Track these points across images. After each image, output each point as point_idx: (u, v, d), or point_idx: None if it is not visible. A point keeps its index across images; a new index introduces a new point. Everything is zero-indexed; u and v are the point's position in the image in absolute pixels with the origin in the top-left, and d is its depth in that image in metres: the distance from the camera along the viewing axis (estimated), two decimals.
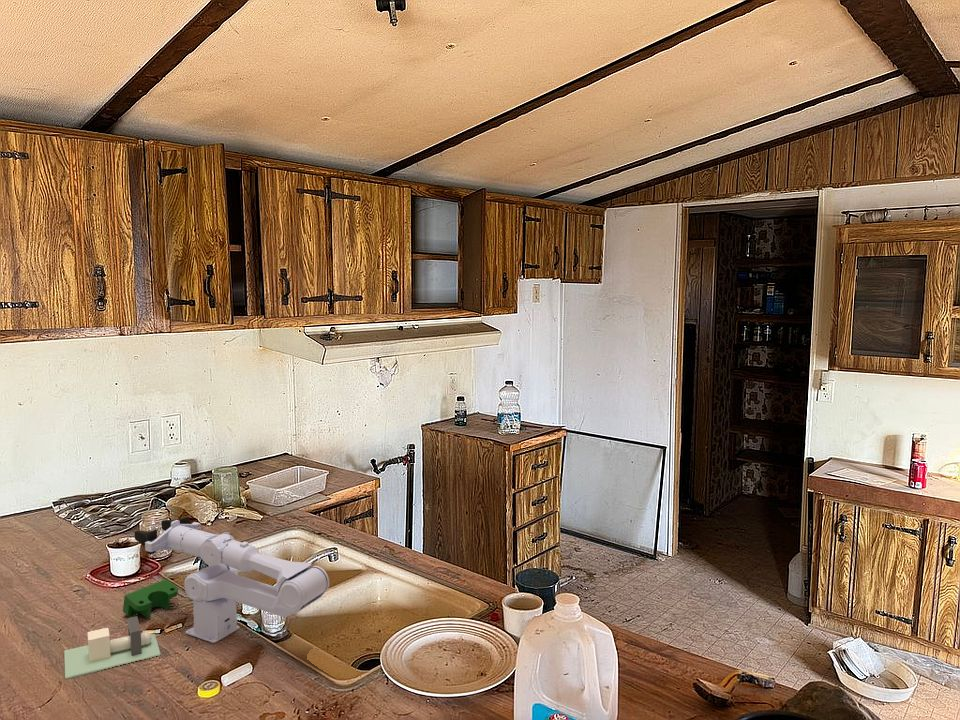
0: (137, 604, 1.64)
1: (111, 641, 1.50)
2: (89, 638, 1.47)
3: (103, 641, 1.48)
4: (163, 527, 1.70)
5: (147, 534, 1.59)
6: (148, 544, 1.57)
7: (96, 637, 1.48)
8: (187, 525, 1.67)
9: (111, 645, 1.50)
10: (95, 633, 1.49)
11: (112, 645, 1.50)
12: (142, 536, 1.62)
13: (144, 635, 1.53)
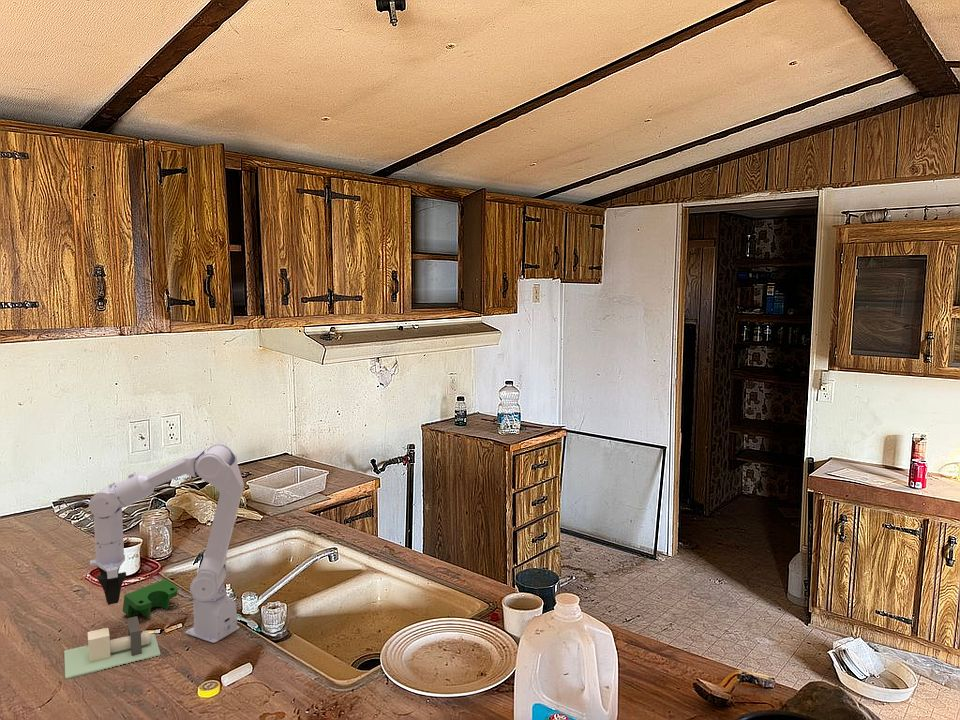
0: (137, 604, 1.64)
1: (111, 641, 1.50)
2: (89, 638, 1.47)
3: (103, 641, 1.48)
4: None
5: (100, 581, 1.51)
6: (108, 573, 1.50)
7: (96, 637, 1.48)
8: None
9: (111, 645, 1.50)
10: (95, 633, 1.49)
11: (112, 645, 1.50)
12: (110, 592, 1.54)
13: (144, 635, 1.53)
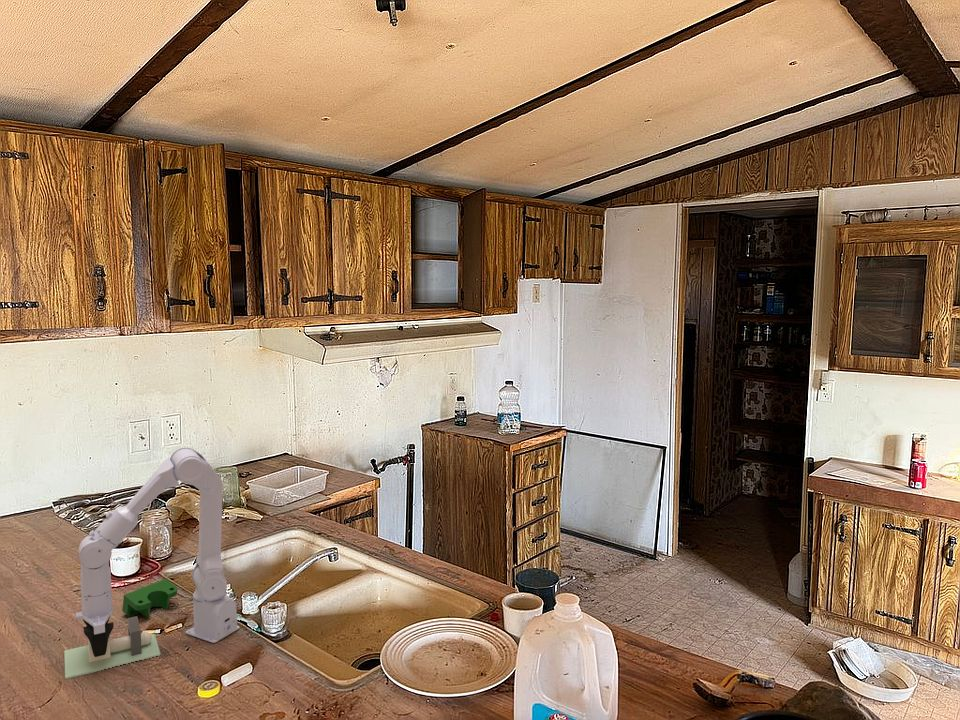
0: (136, 604, 1.64)
1: (111, 641, 1.50)
2: None
3: None
4: None
5: (86, 633, 1.44)
6: (95, 629, 1.42)
7: None
8: None
9: (111, 645, 1.50)
10: None
11: (112, 645, 1.50)
12: (97, 644, 1.47)
13: (144, 635, 1.53)
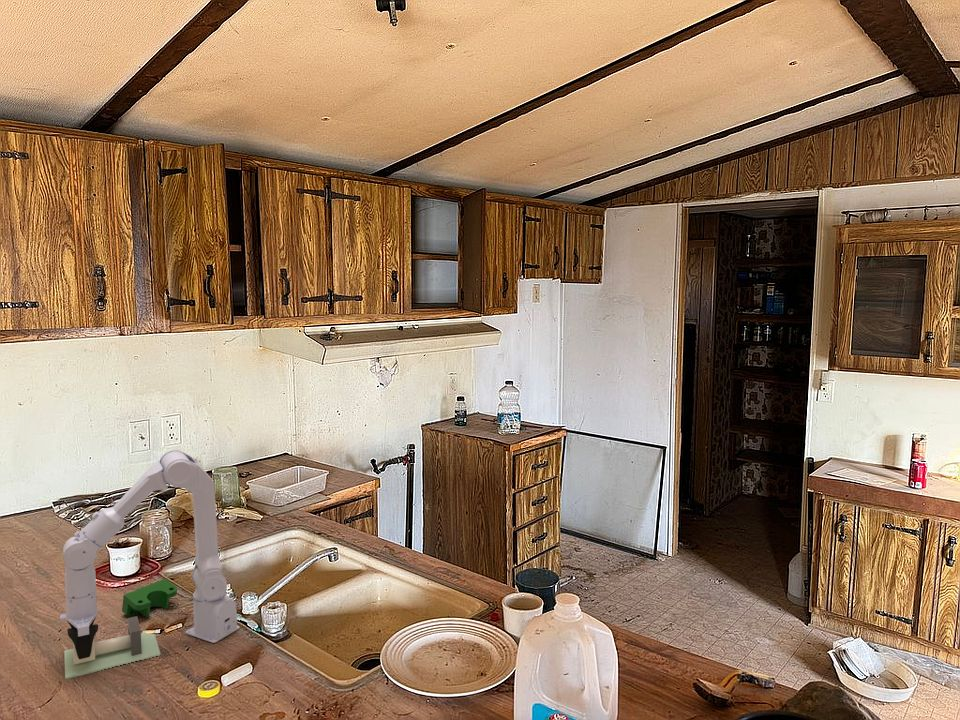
0: (136, 603, 1.64)
1: (96, 643, 1.49)
2: None
3: None
4: None
5: (70, 635, 1.42)
6: (79, 631, 1.40)
7: None
8: None
9: (96, 647, 1.48)
10: None
11: (96, 647, 1.48)
12: (81, 646, 1.45)
13: None
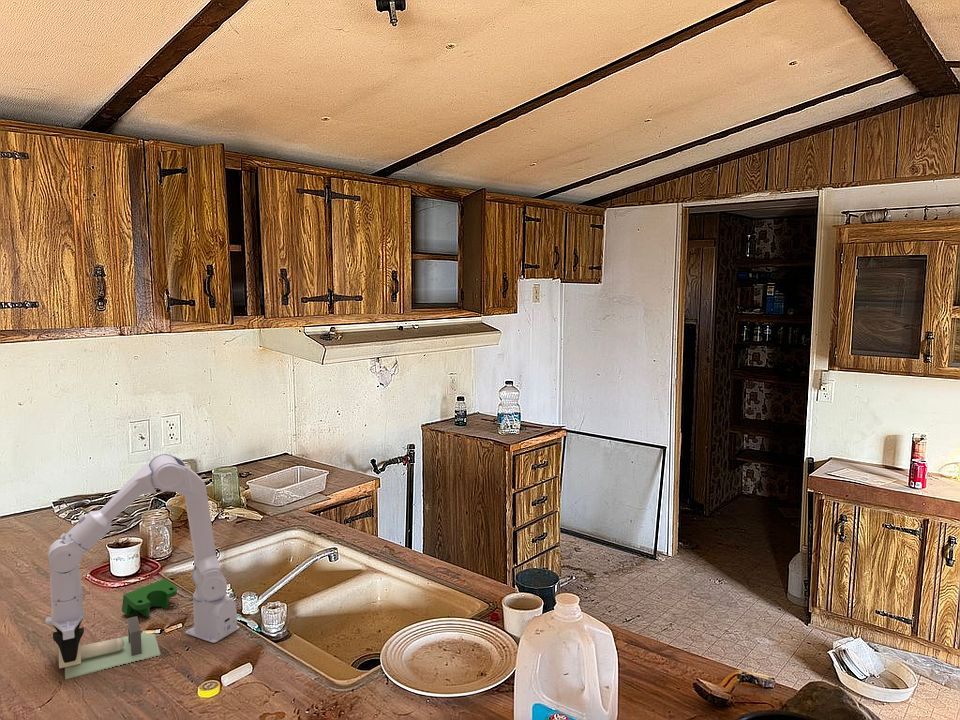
0: (136, 603, 1.65)
1: (82, 647, 1.47)
2: None
3: None
4: None
5: (55, 638, 1.41)
6: (64, 634, 1.39)
7: None
8: None
9: (82, 651, 1.47)
10: None
11: (82, 651, 1.47)
12: (66, 649, 1.44)
13: (116, 641, 1.50)
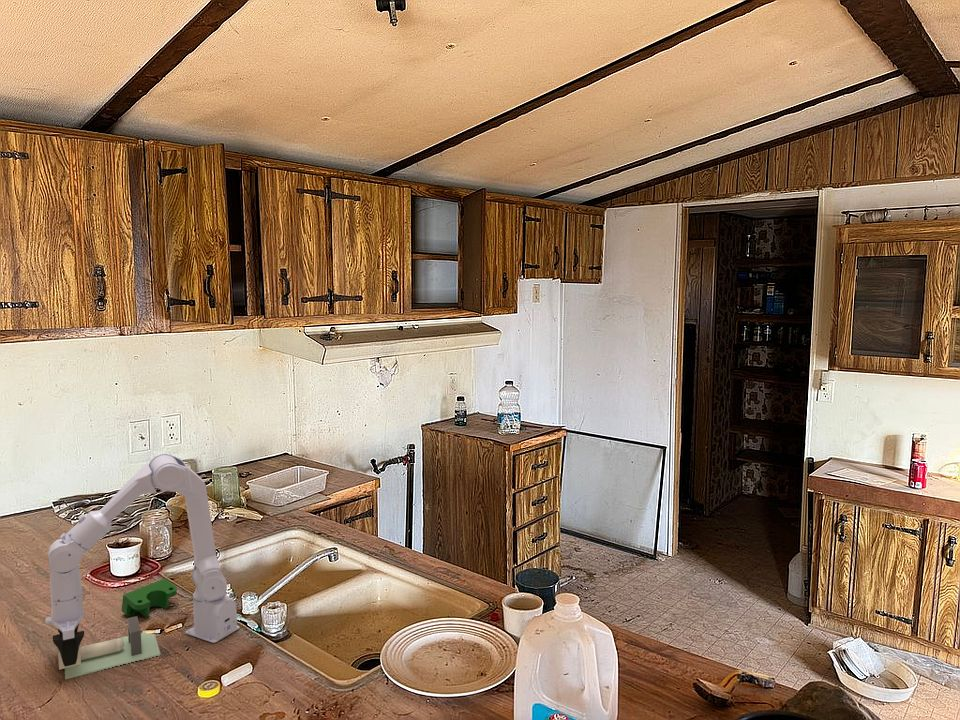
0: (136, 603, 1.65)
1: (82, 648, 1.47)
2: None
3: None
4: None
5: (55, 642, 1.39)
6: (64, 634, 1.39)
7: None
8: None
9: (82, 652, 1.47)
10: None
11: (82, 652, 1.47)
12: (67, 653, 1.42)
13: (116, 642, 1.50)
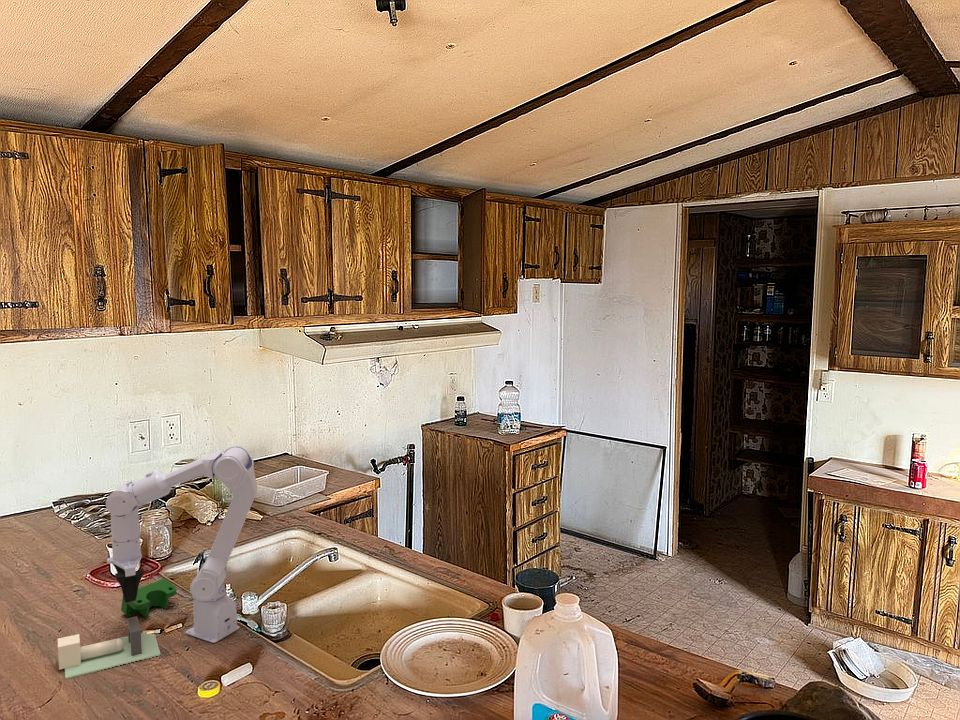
0: (135, 603, 1.65)
1: (82, 648, 1.47)
2: (59, 645, 1.44)
3: (73, 648, 1.45)
4: None
5: (118, 578, 1.51)
6: (126, 571, 1.51)
7: (66, 644, 1.45)
8: None
9: (82, 652, 1.47)
10: (65, 640, 1.46)
11: (82, 652, 1.47)
12: (127, 590, 1.54)
13: (116, 642, 1.50)
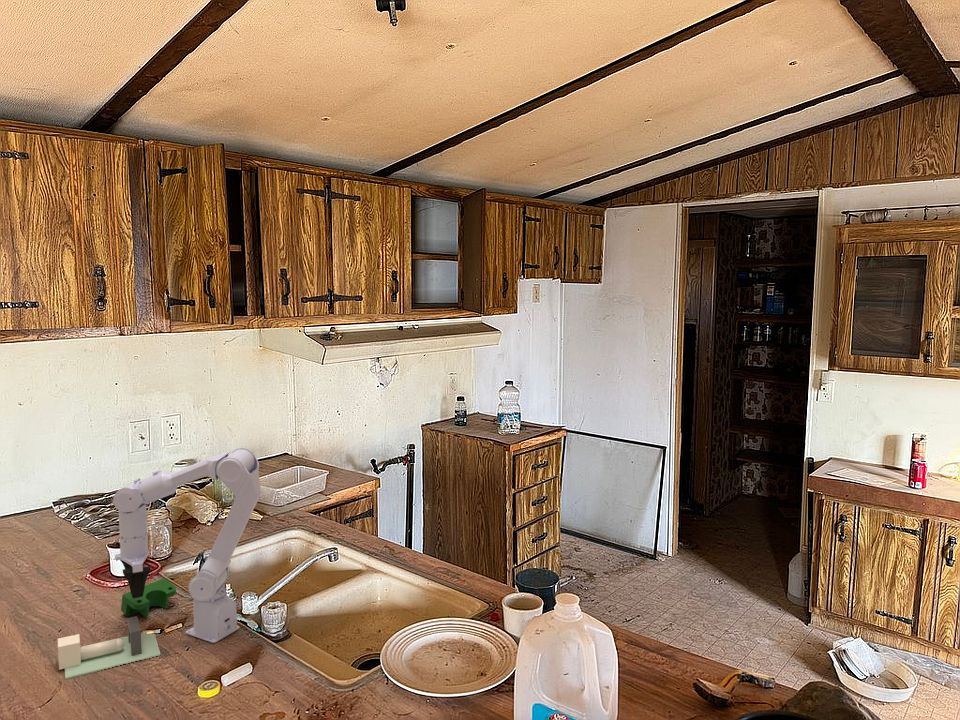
0: (135, 603, 1.65)
1: (82, 648, 1.47)
2: (59, 645, 1.44)
3: (73, 648, 1.45)
4: None
5: (125, 574, 1.53)
6: (134, 567, 1.52)
7: (66, 644, 1.45)
8: None
9: (82, 652, 1.47)
10: (65, 640, 1.46)
11: (82, 652, 1.47)
12: (135, 586, 1.56)
13: (116, 642, 1.50)
